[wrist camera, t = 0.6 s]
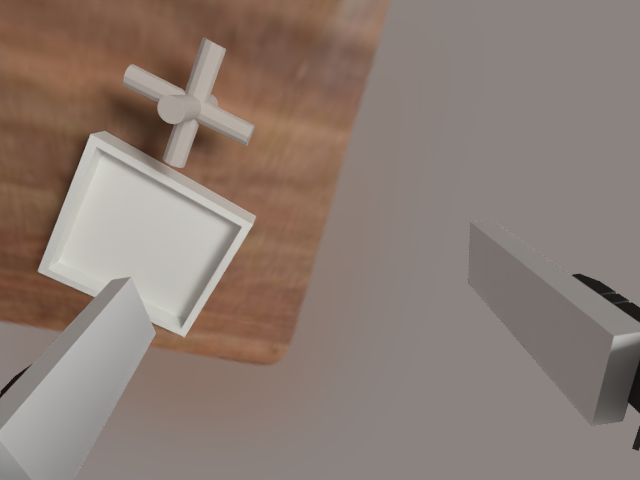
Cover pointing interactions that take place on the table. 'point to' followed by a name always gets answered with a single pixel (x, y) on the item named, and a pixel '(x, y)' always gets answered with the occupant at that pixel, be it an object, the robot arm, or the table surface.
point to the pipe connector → (189, 103)
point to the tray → (143, 232)
